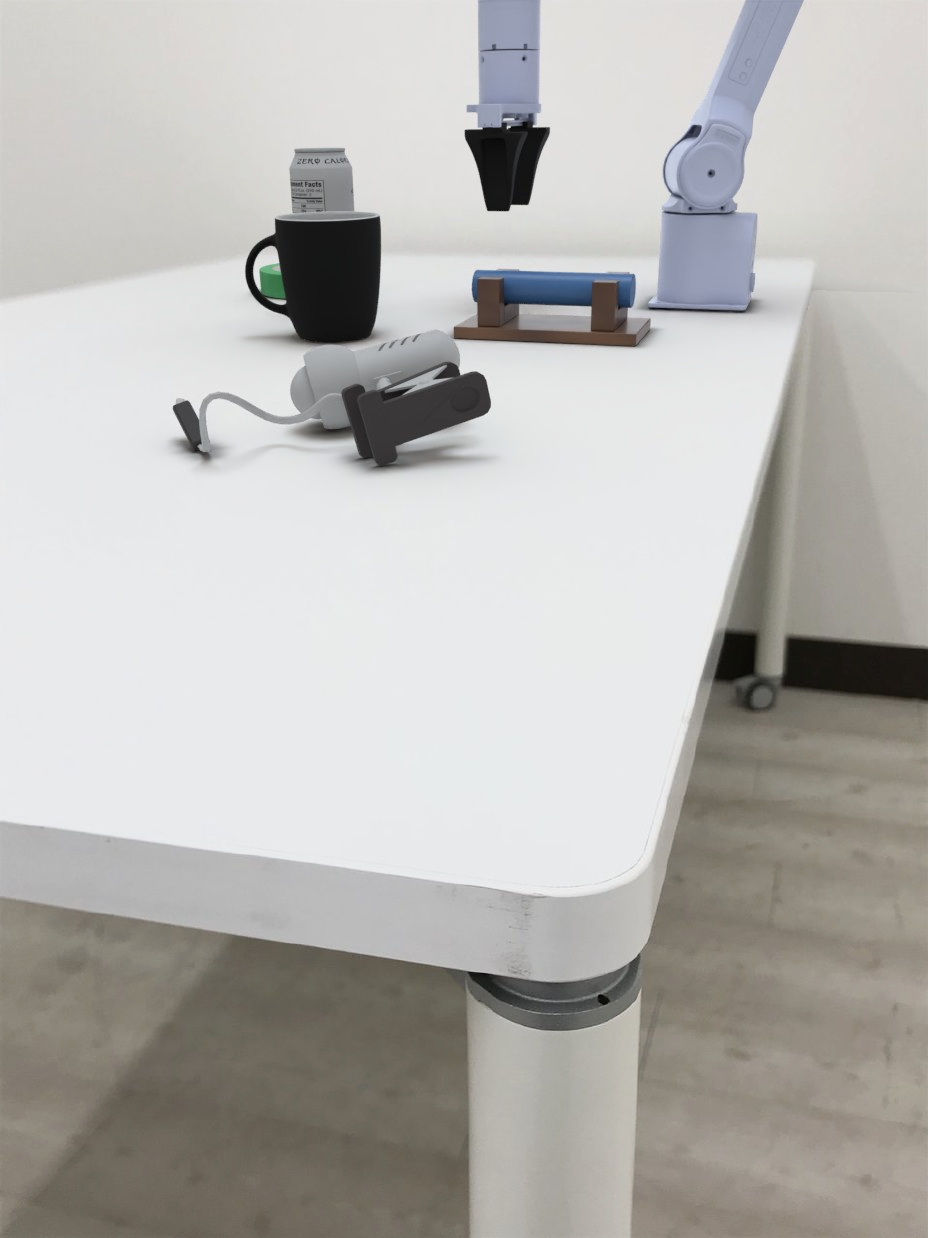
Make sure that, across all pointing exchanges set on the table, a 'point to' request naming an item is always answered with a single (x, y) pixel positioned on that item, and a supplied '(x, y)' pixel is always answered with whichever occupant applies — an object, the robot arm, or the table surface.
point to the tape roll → (272, 281)
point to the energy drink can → (321, 180)
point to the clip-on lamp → (371, 394)
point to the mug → (325, 273)
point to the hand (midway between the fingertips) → (508, 207)
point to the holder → (552, 319)
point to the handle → (556, 287)
